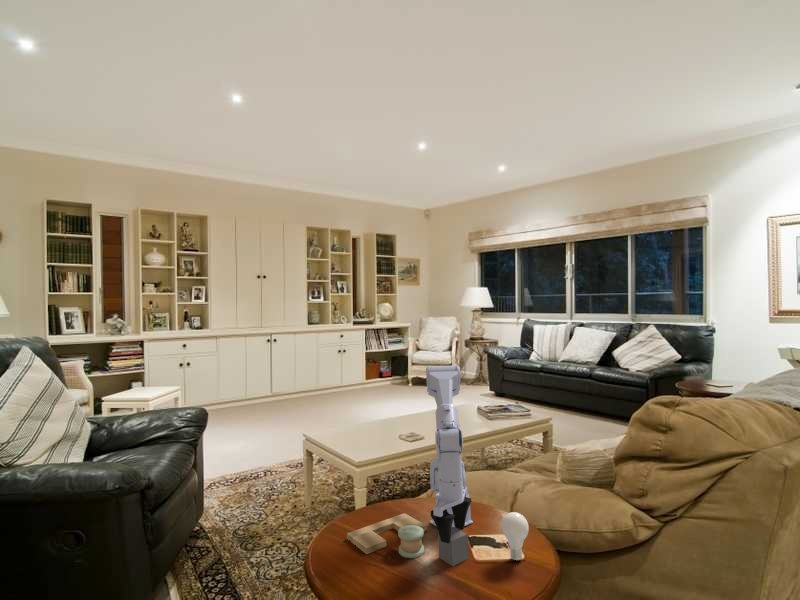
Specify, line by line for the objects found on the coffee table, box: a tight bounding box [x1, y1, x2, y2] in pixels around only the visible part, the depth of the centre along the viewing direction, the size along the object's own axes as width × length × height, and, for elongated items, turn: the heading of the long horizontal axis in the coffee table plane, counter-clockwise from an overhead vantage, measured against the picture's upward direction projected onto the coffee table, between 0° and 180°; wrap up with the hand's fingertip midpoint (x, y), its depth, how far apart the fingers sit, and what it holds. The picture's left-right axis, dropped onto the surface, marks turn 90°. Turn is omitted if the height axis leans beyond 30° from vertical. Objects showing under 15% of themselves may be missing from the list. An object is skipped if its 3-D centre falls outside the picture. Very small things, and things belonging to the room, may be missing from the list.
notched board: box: [346, 512, 427, 555], centre depth 125 cm, size 19×10×2 cm, turn 125°
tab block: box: [437, 527, 469, 567], centre depth 113 cm, size 5×5×6 cm
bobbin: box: [397, 525, 425, 559], centre depth 116 cm, size 6×6×5 cm
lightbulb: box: [500, 511, 530, 562], centre depth 111 cm, size 6×6×11 cm
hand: (452, 535), depth 113 cm, fingers open, 7 cm apart
